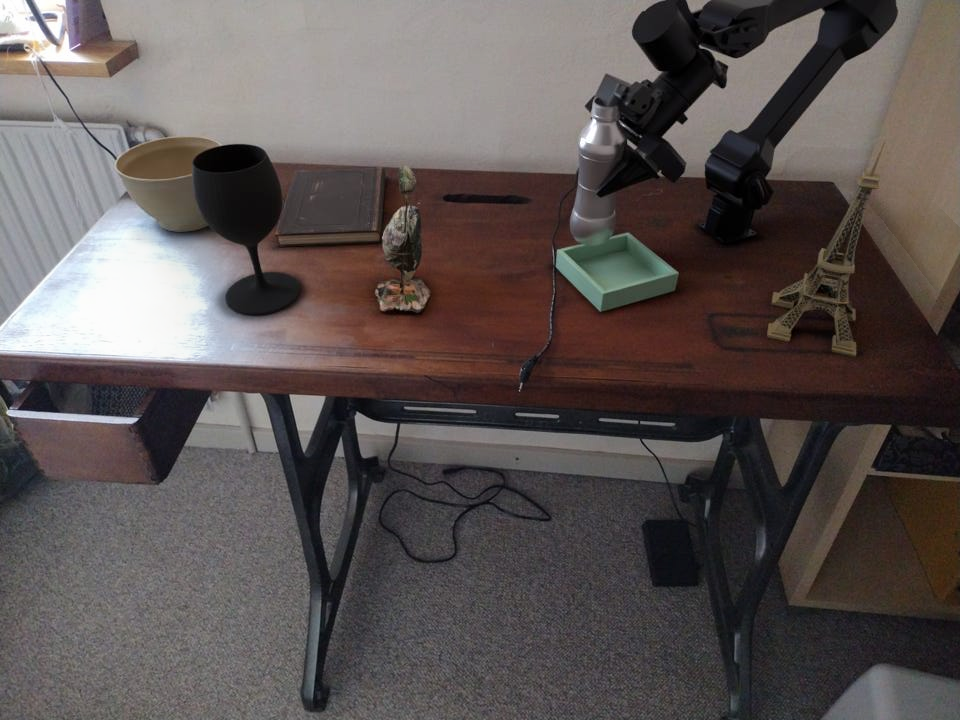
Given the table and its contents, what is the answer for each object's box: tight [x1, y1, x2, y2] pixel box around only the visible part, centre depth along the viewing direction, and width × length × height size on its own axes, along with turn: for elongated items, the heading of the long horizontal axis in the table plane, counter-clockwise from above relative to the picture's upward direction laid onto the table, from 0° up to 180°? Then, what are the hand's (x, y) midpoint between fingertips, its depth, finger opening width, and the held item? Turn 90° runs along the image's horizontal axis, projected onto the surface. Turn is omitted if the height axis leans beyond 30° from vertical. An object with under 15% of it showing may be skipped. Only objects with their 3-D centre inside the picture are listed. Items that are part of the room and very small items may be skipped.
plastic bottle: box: [569, 97, 628, 246], centre depth 90 cm, size 6×7×20 cm
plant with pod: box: [374, 164, 431, 314], centre depth 88 cm, size 8×11×20 cm
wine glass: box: [192, 143, 302, 317], centre depth 88 cm, size 10×10×20 cm
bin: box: [555, 232, 680, 313], centre depth 96 cm, size 12×12×3 cm
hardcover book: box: [274, 166, 386, 248], centre depth 112 cm, size 16×23×2 cm
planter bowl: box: [114, 135, 223, 233], centre depth 107 cm, size 16×16×11 cm
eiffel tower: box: [766, 139, 886, 358], centre depth 81 cm, size 11×11×25 cm
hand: (587, 185), depth 91 cm, fingers closed on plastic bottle, 6 cm apart
